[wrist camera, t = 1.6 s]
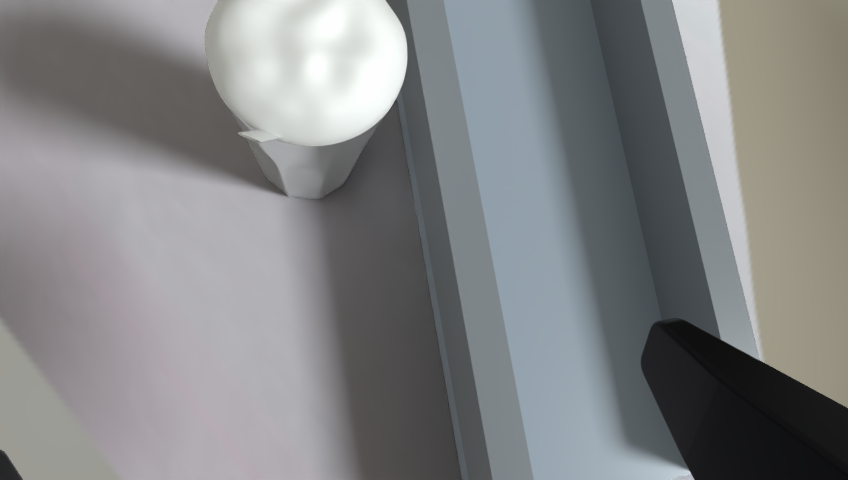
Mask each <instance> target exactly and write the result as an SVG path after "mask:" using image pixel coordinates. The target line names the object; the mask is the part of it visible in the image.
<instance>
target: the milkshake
mask: <svg viewBox="0 0 848 480" xmlns="http://www.w3.org/2000/svg"><path fill="white" fill-rule="evenodd" d="M205 51H206V57H207V62H208V66H209V70H210V73H211V77H212V80H213V82H214V85H215V87H216V89H217V91H218V93H219V95H220V97H221V98H222V100H223V101H224V102H225V104H226V105H227V107H228V108H229V110H230V112H231V113H232V115H233V117H234V118H235V120H236V121H237V123H238V125H239V126H240V128H241V130H242V131H243V132H238V135H240V136H242V137H245V138H246V139H247V141H248V143H249V145H250V147H251V149H252V151H253V153H254V155H255V157H256V159H257V161H258V163H259V165H260V167H261V169H262V171H263V173H264V175H265V177H266V178H267V179H268V180H269V181H271V182H272V183H273V184H274V185H276V186H277V187H278V188H279V189H280V190H282V191H283V192H284V193H285V194H286V195H288V196H289V197H299V198H310V199H320V198H321V197H323V196H325V195H326V194H328V193H330V192H332V191H333V190H335V189H337V188H339V187H340V186H342V185H343V184H344V183H345V181H346V179H347V177H348V175H349V173H350V172H351V170H352V168H353V166H354V164H355V163H356V161H357V159H358V157H359V155H360V154H361V152H362V150H363V148H364V147H365V145H366V143H367V142H368V140H369V139H370V137H371V136H372V134H373V133H374V132H375V130H376V129H377V127H378V126H379V124H380V123H381V121H382V120H383V118H384V117H385V115H386V114H387V112H388V111H389V109H390V108H391V106H392V105H393V103H394V101H395V100H396V98H397V96H398V94H399V91H400V89H401V87H402V84H403V81H404V78H405V73H406V68H407V41H406V36H405V32H404V30H403V27H402V25H401V23H400V21H399V19H398V18H397V16H396V15H395V13H394V12H393V10H392V9H391V7H390V6H389V5H388V3H387V2H386V0H218V2H217V4H216V6H215V7H214V9H213V11H212V13H211V15H210V17H209V20H208V22H207V26H206V30H205Z"/></svg>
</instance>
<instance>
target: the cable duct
mask: <svg viewBox="0 0 848 480" xmlns="http://www.w3.org/2000/svg"><path fill="white" fill-rule="evenodd" d="M386 2H387V3H388V5H389V6H390V7H391V9H392V10H393V12H394V13H395V15H396V16H397V18H398V19H399V21H400V23H401V25H402V27H403V30H404V32H405V36H406V41H407V68H406V73H405V78H404V81H403V84H402V87H401V89H400V91H399V94H398V96H397V98H396V99H397V105H398V111H399V117H400V122H401V128H402V134H403V140H404V146H405V151H406V157H407V163H408V169H409V175H410V181H411V186H412V192H413V198H414V204H415V210H416V215H417V221H418V227H419V233H420V239H421V244H422V250H423V256H424V262H425V268H426V274H427V279H428V285H429V291H430V297H431V303H432V308H433V314H434V320H435V326H436V332H437V337H438V343H439V349H440V355H441V361H442V367H443V372H444V378H445V384H446V390H447V396H448V401H449V407H450V413H451V419H452V425H453V431H454V436H455V442H456V448H457V454H458V460H459V465H460V471H461V477H462V480H669V479H673V478H677V477H681V476H685V475H689V474H691V473H690V471H689V469H688V467H687V465H686V464H685V462H684V460H683V458H682V456H681V454H680V452H679V450H678V448H677V446H676V444H675V442H674V440H673V437H672V435H671V433H670V431H669V429H668V427H667V424H666V422H665V420H664V418H663V416H662V414H661V411H660V409H659V407H658V405H657V403H656V401H655V399H654V396H653V394H652V392H651V390H650V388H649V386H648V383H647V381H646V379H645V377H644V375H643V372H642V369H641V355H642V352H643V349H644V346H645V343H646V340H647V336H648V333H649V330H650V328H651V326H652V324H653V323H655V322H657V321H660V320H666V319H671V318H681V319H683V320H686V321H688V322H689V323H691V324H693V325H695V326H697V327H699V328H700V329H702V330H704V331H706V332H708V333H710V334H712V335H713V336H715V337H717V338H719V339H721V340H723V341H725V342H726V343H728V344H730V345H732V346H734V347H736V348H737V349H739V350H741V351H743V352H745V353H747V354H749V355H750V356H752V357H754V358H756V359H758V360H760V359H759V354H758V350H757V346H756V342H755V338H754V334H753V330H752V326H751V322H750V318H749V314H748V309H747V305H746V301H745V297H744V293H743V289H742V285H741V281H740V277H739V273H738V269H737V265H736V260H735V256H734V252H733V248H732V244H731V240H730V236H729V232H728V228H727V224H726V220H725V215H724V211H723V207H722V203H721V199H720V195H719V191H718V187H717V183H716V179H715V175H714V171H713V166H712V162H711V158H710V154H709V150H708V146H707V142H706V138H705V134H704V130H703V126H702V121H701V117H700V113H699V109H698V105H697V101H696V97H695V93H694V89H693V85H692V81H691V77H690V72H689V68H688V64H687V60H686V56H685V52H684V48H683V44H682V40H681V36H680V32H679V27H678V23H677V19H676V15H675V11H674V7H673V3H672V0H386Z"/></svg>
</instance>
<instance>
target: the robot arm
mask: <svg viewBox="0 0 848 480" xmlns="http://www.w3.org/2000/svg"><path fill="white" fill-rule="evenodd" d="M641 369H642V372H643V375H644V377H645V379H646V381H647V383H648V386H649V388H650V390H651V392H652V394H653V396H654V399H655V401H656V403H657V405H658V407H659V409H660V411H661V414H662V416H663V418H664V420H665V422H666V424H667V427H668V429H669V431H670V433H671V435H672V437H673V440H674V442H675V444H676V446H677V448H678V450H679V452H680V454H681V456H682V458H683V460H684V462H685V464H686V465H687V467H688V469H689V471H690V473H691V474H692V476H693V478H694V479H695V480H848V408H847V407H845V406H843V405H841V404H839V403H837V402H835V401H834V400H832V399H830V398H828V397H826V396H824V395H822V394H820V393H819V392H817V391H815V390H813V389H811V388H810V387H808V386H806V385H804V384H802V383H800V382H798V381H797V380H795V379H793V378H791V377H789V376H787V375H786V374H784V373H782V372H780V371H778V370H776V369H774V368H773V367H771V366H769V365H767V364H765V363H763V362H761V361H760V360H758V359H756V358H754V357H752V356H750V355H749V354H747V353H745V352H743V351H741V350H739V349H737V348H736V347H734V346H732V345H730V344H728V343H726V342H725V341H723V340H721V339H719V338H717V337H715V336H713V335H712V334H710V333H708V332H706V331H704V330H702V329H700V328H699V327H697V326H695V325H693V324H691V323H689V322H688V321H686V320H683V319H681V318H671V319H666V320H660V321H657V322H655V323H653V324H652V326H651V328H650V330H649V333H648V336H647V340H646V343H645V346H644V349H643V352H642V355H641ZM0 480H23V479H22V477H21V476H20V474H19V473H18V471H17V470H16V468H15V467H14V465H13V464H12V462H11V461H10V459H9V457H8V456H7V455H6V453H5V452H4V451H2V450H0Z"/></svg>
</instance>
